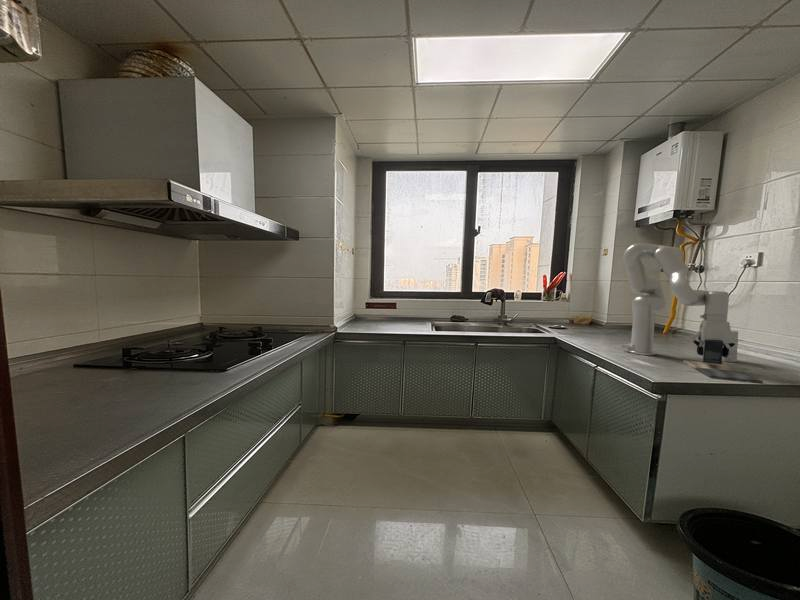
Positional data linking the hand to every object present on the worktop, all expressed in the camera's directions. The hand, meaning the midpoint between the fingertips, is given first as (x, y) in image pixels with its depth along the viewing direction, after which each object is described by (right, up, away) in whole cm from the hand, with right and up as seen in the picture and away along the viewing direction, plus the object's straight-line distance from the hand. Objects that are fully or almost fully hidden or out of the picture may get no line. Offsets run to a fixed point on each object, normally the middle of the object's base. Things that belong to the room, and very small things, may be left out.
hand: (712, 355), depth 146 cm
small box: (0, -3, 0) cm, 3 cm away
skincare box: (+20, -5, +15) cm, 26 cm away
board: (-3, -6, -5) cm, 9 cm away
